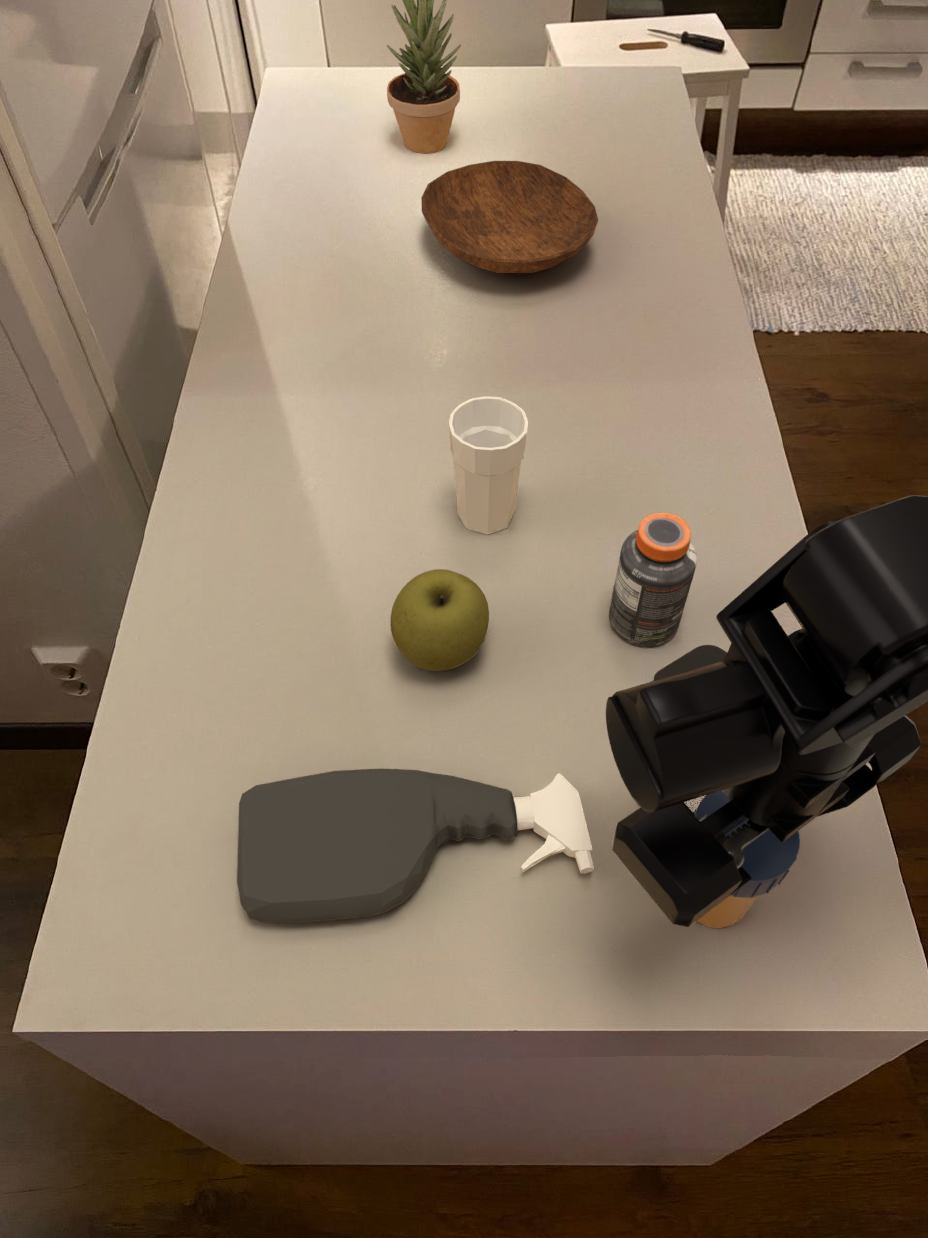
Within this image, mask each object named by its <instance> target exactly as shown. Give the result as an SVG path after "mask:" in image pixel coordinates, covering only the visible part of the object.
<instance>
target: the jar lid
mask: <svg viewBox="0 0 928 1238" xmlns="http://www.w3.org/2000/svg"><path fill="white" fill-rule="evenodd" d="M729 801H730V799H729V798H728V796H727V795H726V794H725V793H724V792H723V791H722V790H721V791H718V792H714V793H711V794H708V795H705V796H703V798H702V799H701V800H700V802H699V803H698V805H697V807H696V809H694V811H693V813H694V814H695V815H696V816H697V817H698V818H699V819H700V818H702V817H703V816H705V815H707V816H710V815H711V814H712V813H714V812H715V811H717V810H718V809H719V808H721V807H722V806H724V805H725V804H727V803H728V802H729ZM748 820H749V819H748V818H747V819H746V820H745V821H743V822H742V823H741V824H739V825H738V826H736V827H735V828H734V829H732V830H731V831H729V832H728V833H727V834H725V836H727V835H730V836H731V837H732V835H731V833H732V832H733V831H735V832H736V833H737V831H736V830H737V828H738V827H740V828H741V829H742V827H741V826H742V825H743V824H746V825H747V821H748ZM799 831H800V830H799ZM799 831H797V832H796V833H795V834H793V835H792V836H791V837H789V838H788V839H787V840H785V841H784V842H783V843H782V842H781V841H780V840H779V839H778V838H777V837H776V836H775V835H774V834H773V833H772V832H771V831H770V830H768V831H767V832H766V833H764V834H763V835H761V836H760V837H759V838H757V839H756V840H755V841H753V842H752V843H751V844H749V845H748V846H747V847H745V848H744V849H743V850H742V851H743V854H744V862H743V864H742V867H743V868H744V870H745V871H746V872H747V873H748V874H749V875H750V876H751V877H752V879H751V880H750V881H749V882H747V883H746V884H745V885H743V886H742V887H741V888H739V889H738V890H737V891H735V892H734V893H733V894H731V895H730V896H734V897H736V898H737V897H741V898H750V897H752V898H754V897H757V898H758V897H759V896H763V895H765V894H767V895H768V894H769V893H770V892H771V891H772V890H773V889H775V888H776V887H777V886H779V885H781V883H782V882H783V881H784V879H785V878H786V877H787V875H788V874H789V873H790V869H791V867H792V866H793V865H794V863H795V862H796V860H797V859H798V857H797V856H798V854H799V851H800V847H801V846H800V845H801V836H800V832H799Z"/></svg>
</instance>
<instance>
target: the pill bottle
mask: <svg viewBox="0 0 928 1238" xmlns="http://www.w3.org/2000/svg"><path fill="white" fill-rule="evenodd" d="M691 540H692V530H691V527H690V526H689V524H688V522H686V521H685V520H684V519H683V518H681V517H680V516H679V515H677V514H673V513H671V512H660V511H659V512H654V513H650V514H648V515H646V516H645V517H644V518H643V519H641V521H640V523H639V524H638V528H637V530H635V531H633V532H632V533H630V534H629V535H628V536H627V537H626V538H625V539H624V541H623V543H622V545H621V549H620V551H619V552H620V553H619V558H618V564H617V569H616V574H615V579H614V585H613V589H612V590H613V591H612V595H611V599H610V605H609V611H608V619H609V622H610V625H611V628H612V629H613V631H614V632H615V634H616V635H617V636H619V637H620V638H621V639H623V641H625V642H628V643H630V644H632V645H636V646H641V647H655V646H659V645H664V643H666V642H668V641H670V640H671V639H672V638H673V637H674V636H675V635H676V633H677V632H678V630H679V628H680V623H681V621H682V618H683V614H684V610H685V608H686V607H685V606H686V603H687V601H688V597H689V593H690V589H691V587H692V583H693V579H694V576H695V573H696V568H697V564H698V556H697V552H696V548H695V546H694V545H693V544H692V541H691Z"/></svg>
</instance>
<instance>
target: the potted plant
mask: <svg viewBox="0 0 928 1238" xmlns="http://www.w3.org/2000/svg"><path fill="white" fill-rule="evenodd" d="M401 1H402V3H403V5H404V8H405V10H406V12H407V13H406V12H403V14H404V16H403V15H402V13H401V12H400V11H399V9H398V7H397V6H396V5H395V4H394V5H393V4H391V5H390V6H391V9H392V11H393V14H394V16H395V19H396V21H397V23H398V25H399V27H400V28H401V30H402V32H403V33H404V35H405V38H406V40H407V42H408V44H409V45H408V44H406V43H404V48H405V49H403V48H401V47H399V51H400V53H401V54H400V53H398V52H397V51H396V50H395V49H393V48H392V47H391V46H390V45H389V44H386V47H387V49H388V50H389V51H390V53H391V54H392V55H393V56H394V57H395V58H396V59H397V61H399V62H398V65H399V67H400V68H401V69H402V71H403V72H404V73H402V74H399V75H396V76H394V77H393V78H392V79H391V80H390V81H389V82H388V83H387V86H386V98H387V103H388V105H389V107H390V108H391V109H392V110H393V114H394V116H395V119H396V122H397V125H398V128H399V132H400V134H401V137H402V140H403V144H404V146H405V147H406V149H408V150H410V151H411V152H414V153H421V154H433V153H437V152H440V151H443V150H444V148H446V146H447V141H448V140H449V136H450V131H451V127H452V124H453V119H454V116H455V112H456V108H457V106H458V105H459V103H460V101H461V87H460V83H459V81H458V79H456V78H454V77H453V76H452V75H451V74H452V69H451V67H452V66H453V64H454V63H455V61H456V60H457V58H458V55H455V54H456V53H457V52H458V51H459V49H460V48H461V47H462V44H459V45H458V46H456V47H455V48H454V49H453V50H452V51H451V52H450V53H449V54H447V55H446V56H445V57H443V56H444V53H445V51H446V49H447V46H448V45H449V43H450V41H451V39H452V35H453V33H452V32H450V33H449V31H450V28H451V26H452V23H453V21H454V17H455V14H454V13H452V14H451V16H450V17H449V18H448V20H447V21H446V22H445V23H444V24H443V26H441V24H442V21H443V16H444V13H445V10H446V7H447V1H448V0H442V2H441V4H440V6H439V9H438V11H437V12H436V13H435V16H434V3H435V0H416V1H415V0H401ZM407 15H408V17H409V18H408V17H407ZM409 19H410V22H409ZM440 27H441V28H440ZM448 33H449V35H448V36H447V34H448ZM446 37H447V38H446ZM444 40H445V41H444ZM454 55H455V56H454ZM452 57H453V58H452ZM451 58H452V59H451ZM445 63H446V64H445ZM449 69H450V70H449Z"/></svg>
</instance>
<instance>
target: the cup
mask: <svg viewBox="0 0 928 1238" xmlns="http://www.w3.org/2000/svg"><path fill="white" fill-rule="evenodd" d="M528 426H529V420H528V418H527V414H526V411H525V410H524V409H522V408H521V407H520V406H519V405H517V404H516V402H513V401H510V400H509V399H506V398H504V397H499V396H488V395H487V396H479V397H478V396H477V397H471V398H470V399H467V400H466V401H463V402H462V403H460V404H458V405H457V406H456V407H455V409H453V410H452V412H450V415H449V421H448V431H449V443H450V452H451V456H452V460H453V471H454V473H453V474H454V482H455V484H454V485H455V495H456V507H457V508H456V510H457V516H458V518H459V519H460V521H461V522H462V524H463V526H464V527H465V529H466V530H468V531H473V532H476V533H479V534H483V535H486V536H487V535H491V534H494V533H497V532H499V531H503V530H506V529H508V528H509V526H510V523H511V521H512V519H513V517H514V515H515V509H516V500H517V493H518V485H519V479H520V472H521V464H522V461H523V460H524V459H525V458H524V457H525V451H526V450H525V449H526V444H527V443H526V442H527V435H528Z"/></svg>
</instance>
